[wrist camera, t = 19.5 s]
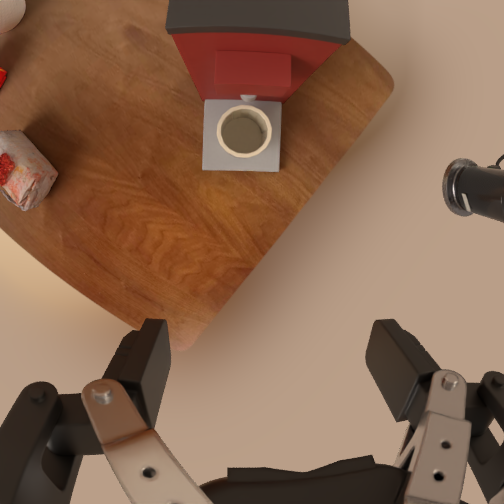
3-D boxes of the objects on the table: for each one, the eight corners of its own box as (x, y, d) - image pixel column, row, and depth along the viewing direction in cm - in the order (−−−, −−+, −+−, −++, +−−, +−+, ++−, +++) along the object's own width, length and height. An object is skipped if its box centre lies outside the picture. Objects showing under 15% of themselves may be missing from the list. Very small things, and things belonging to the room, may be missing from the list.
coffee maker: (281, 172, 45) (348, 187, 19) (199, 169, 44) (155, 181, 18) (284, 70, 40) (346, -21, 14) (203, 67, 39) (174, -34, 13)
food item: (66, 172, 42) (34, 177, 33) (43, 208, 43) (10, 220, 34) (24, 126, 39) (-10, 123, 29) (3, 162, 40) (-31, 165, 31)
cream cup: (256, 109, 41) (262, 98, 33) (270, 150, 43) (278, 148, 35) (213, 123, 41) (209, 114, 33) (227, 164, 43) (226, 164, 35)
